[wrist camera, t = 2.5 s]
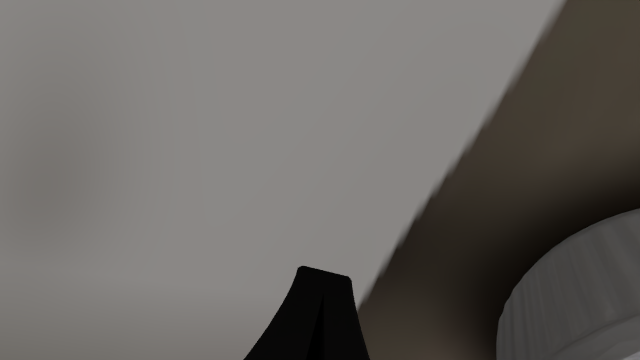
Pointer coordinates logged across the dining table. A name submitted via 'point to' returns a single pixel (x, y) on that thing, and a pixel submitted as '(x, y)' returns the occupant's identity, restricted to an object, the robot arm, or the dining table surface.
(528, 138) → the dining table surface
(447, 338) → the dining table surface
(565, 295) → the ramekin
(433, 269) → the dining table surface
